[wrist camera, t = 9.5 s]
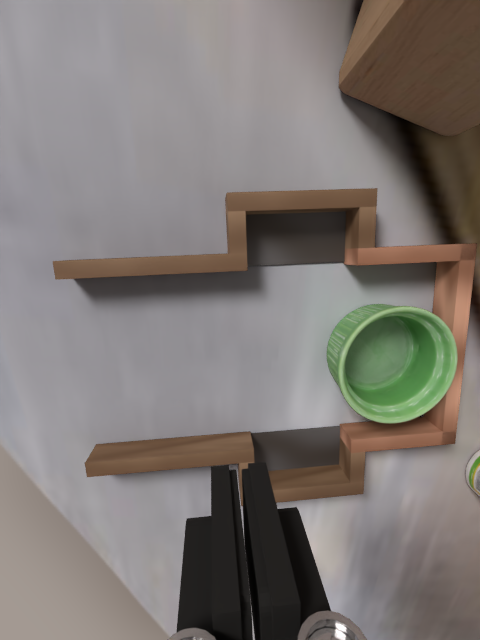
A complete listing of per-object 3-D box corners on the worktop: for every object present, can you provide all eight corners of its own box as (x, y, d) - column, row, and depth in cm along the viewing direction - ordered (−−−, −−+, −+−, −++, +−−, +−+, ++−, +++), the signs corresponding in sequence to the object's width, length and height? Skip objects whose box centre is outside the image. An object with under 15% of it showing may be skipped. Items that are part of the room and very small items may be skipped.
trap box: (60, 203, 23) (42, 197, 21) (457, 191, 25) (483, 185, 23) (104, 497, 28) (94, 520, 26) (431, 466, 31) (450, 485, 28)
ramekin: (299, 340, 27) (315, 357, 23) (388, 275, 27) (423, 280, 22) (353, 417, 29) (378, 446, 25) (438, 358, 28) (478, 377, 24)
